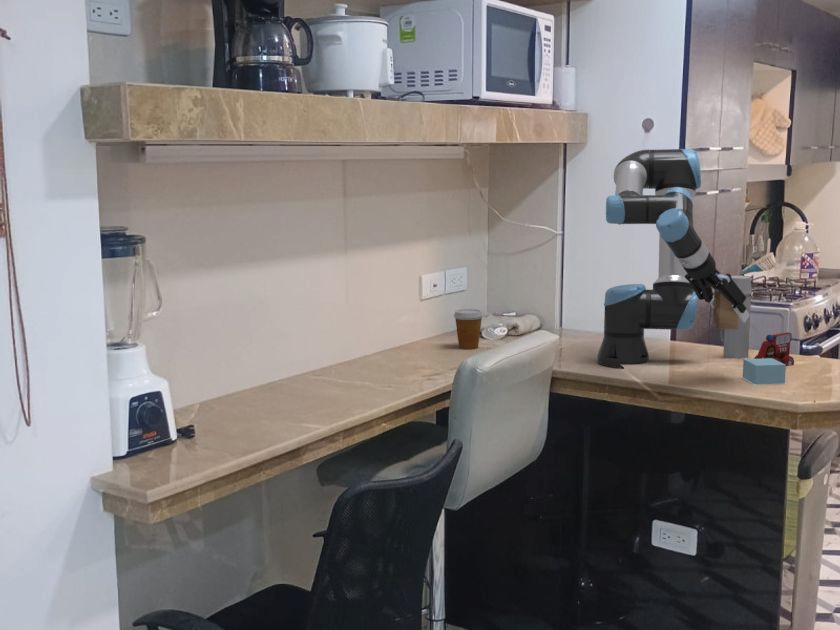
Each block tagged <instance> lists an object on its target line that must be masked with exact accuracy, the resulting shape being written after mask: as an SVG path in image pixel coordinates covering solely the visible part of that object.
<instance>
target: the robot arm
mask: <svg viewBox="0 0 840 630" xmlns="http://www.w3.org/2000/svg"><path fill="white" fill-rule="evenodd" d="M701 173H702V172H701V165H700V159H699V155H698V152H697V151H696V150H695V149H691V148H690V149H686V148H677V149H676V148H673V149H671V148H670V149H668V148H667V149H665V148H664V149H663V148H662V149H641V150H640V149H639V150H637V151H635V152H632V153H630V154H628V155H627V156H625V157H624V158H622V159H621V160H620V161H619V162H618V163H617V165H616V166H615V168H614V170H613V182H614V184H615V191H614V192H615V193H614V195H608V196H607V197H606V201H605V219H606V220H605V221H606V222H607V224H610V225H611V224H612V225H613V224H614V225H615V224H616V225H655V227H656V229H657V231H658V233H659V234H658V235H659V237H658V278H657V279H656V280H655V281H654V282H653V283H652V289H647V288H646V285H645V284H643V283H630V284H622V285H617V286H616V285H615V286H612V287H610V288H608V289H607V290H606V291H605V295H604V303H603V306H604V321H603V338H602V340H601V344H600V346H599V350H598V352H597V363H598V364H599V365H601V366H605V367H611V368H620V369H624V368H625V367H624V365H625V366H626V365H627V366H628V365H642V364H646V363H648V362H650V354H649V351H648V347H647V344H646V341H645V330H675V331H685V330H686V331H687V330H690V329H692V328H693V327H694V324H695V321H696V315H697V310H698V304H699V301H703V300H704V301H705V303H708V305H709V306H710V308H711V309H712V310H713V309H714V291H713V290H718V291H719V292H720V293H721V294H722V295H723V296H724V297H725V298H727V299H728V300H729V301H730V302H731V303H732V304H733V306H732V308H733V309H734V311H735V312H736V313H737V315H738V316H739V318H740V319H741V321H742V322H743V323H745V322H746V320H747V319H748V317H749V316H750V317H751V313H750V314H749V313H748V311H747V310H746V307H745V306H744V304H743V303H744V301H745V300H746V296H745V295H744V294H743V293H742V291H741V290H740V289H739V287H738V286H737V285H736V284H735V282H734V281H733V280H732V277H731V276H732V275H731V274H730V273H727V272H726V274H722V273H721V272H720V271H719V270H718V269H716V268H717V267H716V260H715V258H714V257H713V256H712V255H711V252H710V251H709V249H708V248H707V246H706V245H705V243H704V242H703V240H702V239H701V238H700V236H699V235H698V233H697V231H696V229H695V227H694V212H693V211H694V204H693V199H692V198H694V196H696V193H697V192H696V191H697V190H699V189H700V188H701V186H702V185H701V184H702V179H701V178H702V177H701V175H702V174H701ZM646 189H651V190H653V189H654V190H655V191H654V195H653V194H649V195H646V194H645V195H644V190H646ZM622 365H623V366H622Z"/></svg>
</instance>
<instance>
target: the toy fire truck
mask: <svg viewBox="0 0 840 630" xmlns="http://www.w3.org/2000/svg"><path fill="white" fill-rule="evenodd" d="M791 342H792V333H791V332H787V331H786V332H781V333H776V334H767V335H766V337H765V340H763V341H762V343H761V346H760V348H759V350H758V353H757V354H756V355H755V356H754V357H753V359H765V358H773V359H775V360H777V361H779V362H781V363H783V364H785V365H786V367H790V366H794V365H795V359H794V357H793V356H791V355H790V352H791V351H790V349H791Z"/></svg>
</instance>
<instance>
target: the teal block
mask: <svg viewBox="0 0 840 630" xmlns="http://www.w3.org/2000/svg"><path fill="white" fill-rule="evenodd" d="M786 367H787V366H786V365H785V364H783V363H781V362H779V361H777V360H775V359H773V358H765V359H754V358H742V377H743V378H745V379H747V380H749V381H750V382H752V383H754V384H769V385H781V384H780V383H786V369H787V368H786ZM743 378H742V379H743ZM750 382H749V383H750ZM752 383H751V384H752Z"/></svg>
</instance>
